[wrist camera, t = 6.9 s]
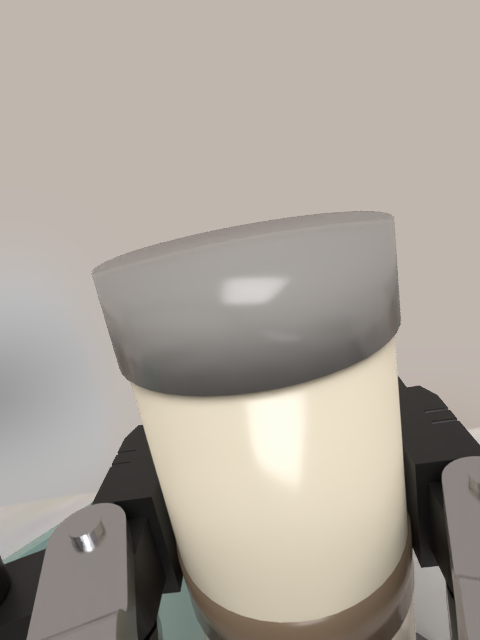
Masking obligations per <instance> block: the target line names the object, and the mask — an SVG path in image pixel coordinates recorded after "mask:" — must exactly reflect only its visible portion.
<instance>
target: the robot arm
mask: <svg viewBox="0 0 480 640" xmlns="http://www.w3.org/2000/svg"><path fill="white" fill-rule="evenodd" d="M398 389H399V403H400V417H401V431H402V446H403V460H404V474H405V489H406V503H407V511H408V514H409V516H410V520H411V532H412V547H413V549H414V552H415V554H416V556H417V559H418V561H419V563H420V566H421V568H423V567H432V566H439V567H440V569H441V571H442V574H443V576H444V578H445V580H446V600H447V609H448V619H449V628H450V637H451V640H480V445H479V444H478V443H477V441H476V440H475V439H474V438H473V437H472V435H471V434H470V433H469V432H468V431H467V430H466V428H465V427H464V426H463V425H462V424H461V423H460V421H457V418H456V417H455V415H454V414H453V413H452V412H451V411H450V410H448V407H447V406H446V405H445V404H444V403H443V401H442V400H441V399H440V398H439V396H438V395H436V394H434V393H432V392H431V391H429V390H427V389H425V388H423V387H421V386H414V387H406V386H405V385H404V383H403V382H402V381H401V379H400V378H399V377H398ZM176 543H177V541H176V538H175V535H174V531H173V528H172V524H171V521H170V517H169V514H168V510H167V507H166V503H165V500H164V496H163V493H162V490H161V486H160V483H159V479H158V476H157V472H156V469H155V465H154V462H153V458H152V455H151V451H150V448H149V444H148V441H147V438H146V434H145V431H144V427H143V425H138V426H137V427H136V428H135V429H134V430H133V431H132V432H131V433H130V434H129V435H128V436H127V437H126V438H125V439H124V441H123V443H122V445H121V447H120V449H119V451H118V455H116V457H115V459H114V461H113V463H112V467H110V469H109V471H108V473H107V475H106V477H105V479H104V481H103V483H102V485H101V487H100V489H99V491H98V493H97V495H96V497H95V499H94V501H93V503H92V505H91V506H88V507H85V508H83V509H81V510H79V511H77V512H75V513H74V514H72V515H70V516H69V517H68V518H66V519H65V520H64V521H63V522H62V523H61V524H60V525H59V526H58V527H57V528H56V529H55V530H54V532H53V533H52V535H51V536H50V538H49V540H48V543H47V547H46V549H43V550H41V551H38V552H36V553H33V554H30V555H27V556H25V557H22V558H19V559H17V560H14V561H11V562H9V563H6V564H4V563H3V561H2V559H1V557H0V640H163V632H162V624H161V620H160V617H159V614H158V611H159V607H160V602H161V598H162V594H167V593H177V592H181V586H182V581H183V572H182V569H181V566H180V562H179V558H178V553H177V548H176Z"/></svg>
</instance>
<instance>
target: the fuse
mask: <svg viewBox="0 0 480 640" xmlns="http://www.w3.org/2000/svg"><path fill="white" fill-rule="evenodd" d="M92 277H93V280H94V284H95V287H96V290H97V294H98V297H99V300H100V304H101V307H102V310H103V314H104V317H105V321H106V324H107V328H108V331H109V334H110V338H111V341H112V345H113V348H114V351H115V355H116V358H117V362H118V365H119V368H120V370H121V372H122V374H123V375H124V376H125V377H126V379H127V380H129V381H130V382H131V386H132V389H133V393H134V396H135V399H136V403H137V406H138V410H139V413H140V417H141V420H142V423H143V427H144V431H145V434H146V438H147V441H148V444H149V448H150V451H151V455H152V458H153V462H154V465H155V469H156V472H157V476H158V479H159V483H160V486H161V490H162V493H163V496H164V500H165V503H166V507H167V510H168V514H169V517H170V521H171V524H172V528H173V531H174V535H175V538H176V541H177V543H176V548H177V553H178V558H179V562H180V566H181V569H182V572H183V576H184V579H185V583H186V586H187V590H188V593H189V596H190V600H191V603H192V607H193V609H194V612H195V615H196V618H197V620H198V622H199V624H200V626H201V628H202V632H203V635H204V638H205V640H416V631H415V617H414V603H413V591H414V562H413V547H412V532H411V520H410V516H409V514H408V511H407V503H406V489H405V474H404V460H403V446H402V431H401V417H400V403H399V389H398V374H397V361H396V346H395V334H396V333H397V331H398V329H399V326H400V319H401V316H400V301H399V286H398V271H397V254H396V239H395V223H394V217H393V216H392V215H391V214H388V213H383V212H374V211H353V212H335V213H324V214H314V215H305V216H297V217H289V218H282V219H276V220H269V221H263V222H257V223H251V224H246V225H240V226H235V227H229V228H224V229H219V230H214V231H210V232H205V233H200V234H196V235H192V236H187V237H183V238H179V239H175V240H171V241H167V242H163V243H159V244H156V245H152V246H149V247H145V248H142V249H139V250H136V251H132V252H130V253H126V254H124V255H121V256H118V257H116V258H113V259H111V260H108V261H106V262H104V263H102V264H100V265H99V266H97V267H96V268H95V269H94V270H93V271H92Z"/></svg>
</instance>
